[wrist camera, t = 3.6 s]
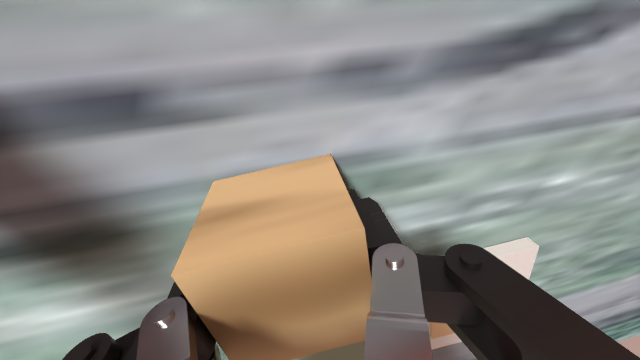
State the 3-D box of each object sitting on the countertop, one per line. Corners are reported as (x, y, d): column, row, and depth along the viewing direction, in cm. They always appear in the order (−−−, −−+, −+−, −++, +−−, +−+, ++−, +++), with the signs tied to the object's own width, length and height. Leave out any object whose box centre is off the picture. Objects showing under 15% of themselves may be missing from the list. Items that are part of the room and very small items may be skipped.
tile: (505, 317, 19) (515, 331, 18) (399, 345, 19) (405, 359, 18) (527, 237, 15) (542, 249, 14) (394, 270, 15) (402, 284, 14)
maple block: (346, 240, 13) (379, 336, 9) (251, 263, 13) (238, 373, 9) (330, 153, 11) (364, 228, 7) (213, 180, 11) (170, 275, 6)
